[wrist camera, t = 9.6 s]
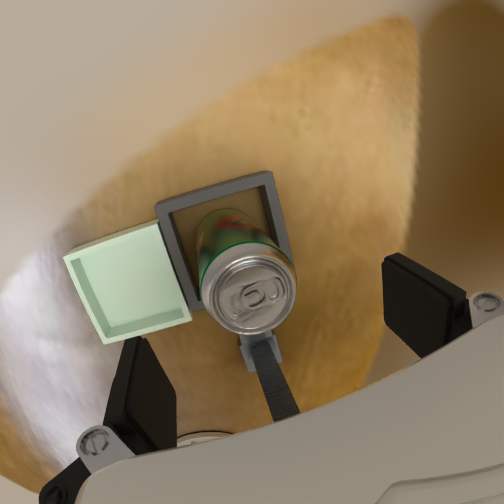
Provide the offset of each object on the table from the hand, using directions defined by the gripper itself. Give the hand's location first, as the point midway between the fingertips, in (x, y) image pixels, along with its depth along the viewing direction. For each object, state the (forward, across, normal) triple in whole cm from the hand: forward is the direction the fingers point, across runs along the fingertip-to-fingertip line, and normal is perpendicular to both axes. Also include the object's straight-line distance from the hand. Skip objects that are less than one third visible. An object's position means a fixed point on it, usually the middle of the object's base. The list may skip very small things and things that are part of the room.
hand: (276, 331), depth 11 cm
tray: (+16, +9, +2) cm, 18 cm away
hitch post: (+16, 0, +10) cm, 19 cm away
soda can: (+16, 0, +1) cm, 16 cm away
